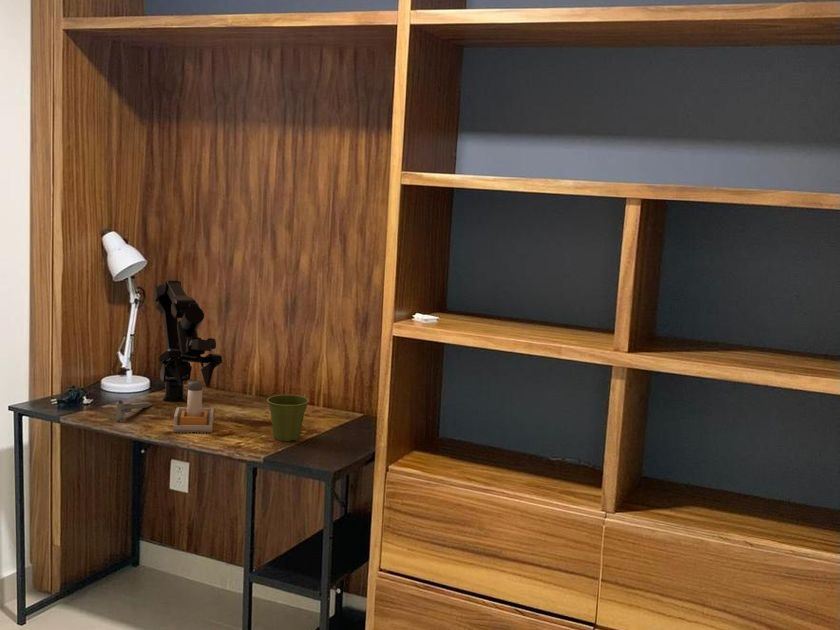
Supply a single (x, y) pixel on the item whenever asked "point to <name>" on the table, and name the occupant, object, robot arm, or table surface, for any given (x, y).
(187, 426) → the socket box
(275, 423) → the plant pot
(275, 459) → the table surface
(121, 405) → the caliper
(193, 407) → the plug
